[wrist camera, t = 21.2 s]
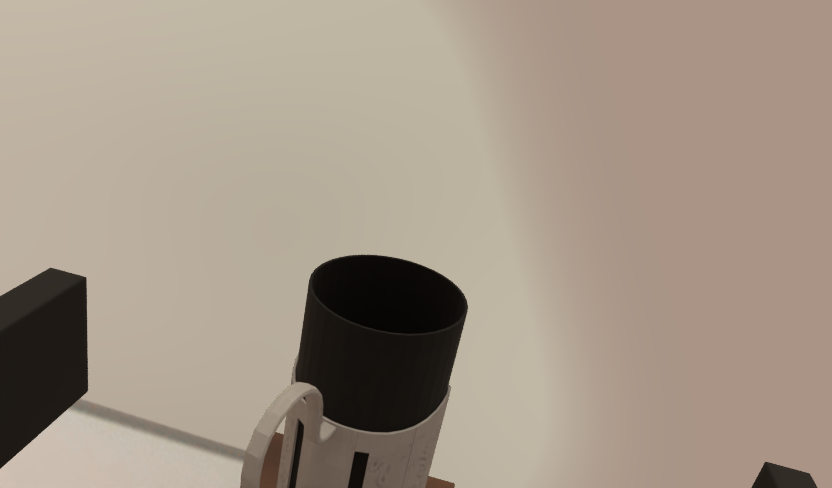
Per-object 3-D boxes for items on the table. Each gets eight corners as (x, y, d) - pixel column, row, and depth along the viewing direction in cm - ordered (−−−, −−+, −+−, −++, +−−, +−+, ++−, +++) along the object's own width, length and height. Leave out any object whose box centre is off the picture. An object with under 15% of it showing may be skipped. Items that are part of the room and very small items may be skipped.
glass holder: (443, 508, 38) (504, 290, 32) (310, 736, 26) (370, 451, 20) (319, 446, 41) (355, 234, 35) (147, 624, 29) (157, 345, 23)
